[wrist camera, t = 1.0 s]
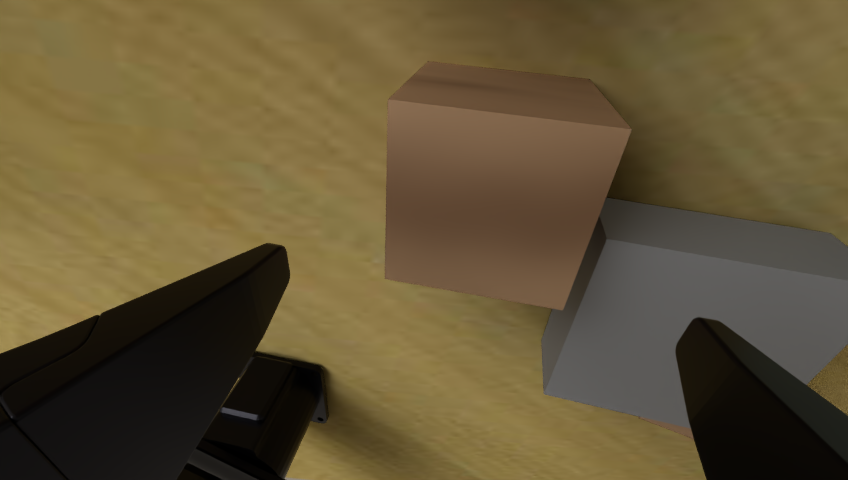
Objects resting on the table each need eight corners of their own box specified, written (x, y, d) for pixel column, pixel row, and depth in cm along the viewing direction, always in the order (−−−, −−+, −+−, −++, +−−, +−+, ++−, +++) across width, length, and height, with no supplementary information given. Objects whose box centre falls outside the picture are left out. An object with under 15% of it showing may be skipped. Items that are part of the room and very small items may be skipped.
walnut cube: (547, 218, 17) (563, 310, 13) (418, 199, 18) (384, 278, 13) (589, 79, 14) (631, 129, 9) (428, 61, 15) (388, 99, 10)
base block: (716, 377, 20) (748, 442, 17) (541, 340, 21) (543, 394, 18) (830, 233, 15) (902, 290, 12) (592, 195, 16) (606, 238, 13)
